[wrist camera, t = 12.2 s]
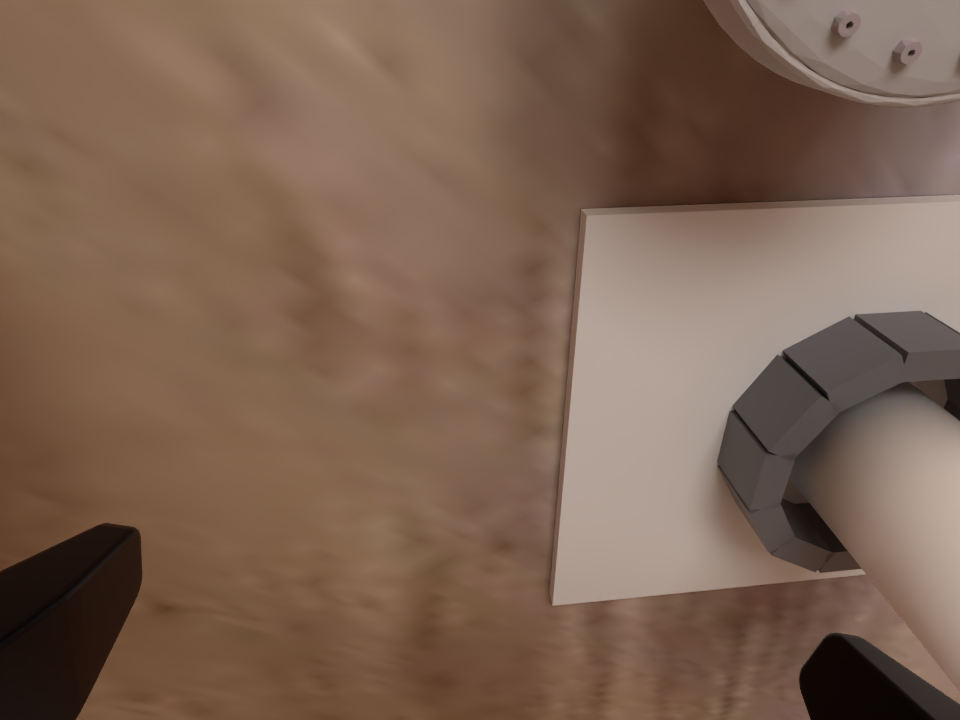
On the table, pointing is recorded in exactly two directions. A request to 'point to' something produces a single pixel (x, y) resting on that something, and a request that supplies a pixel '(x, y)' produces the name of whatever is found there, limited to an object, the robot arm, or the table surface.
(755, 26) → the showerhead
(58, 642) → the robot arm
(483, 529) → the table surface
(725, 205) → the socket
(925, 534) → the canister
